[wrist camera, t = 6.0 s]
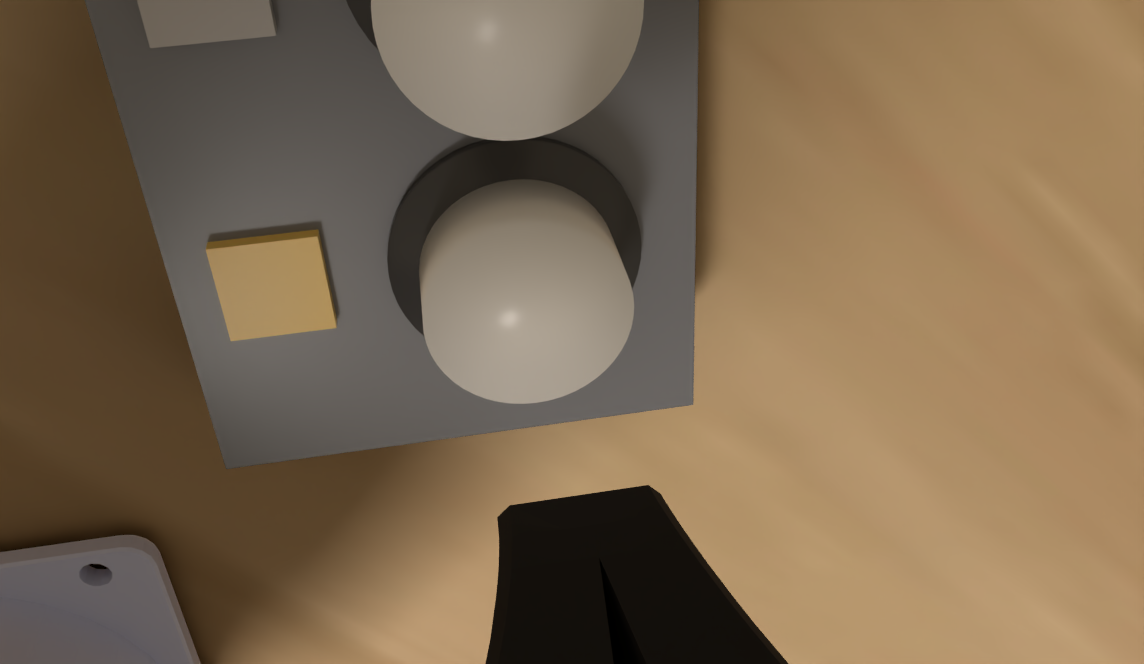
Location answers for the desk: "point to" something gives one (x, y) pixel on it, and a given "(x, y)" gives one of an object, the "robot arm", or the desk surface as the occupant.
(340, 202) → the switch panel
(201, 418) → the desk surface
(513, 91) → the button middle
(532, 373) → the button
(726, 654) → the robot arm
